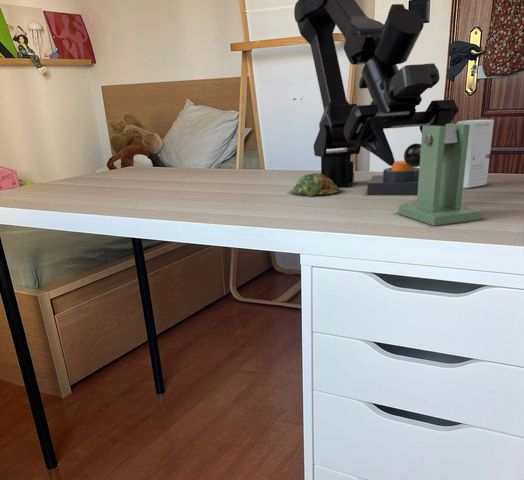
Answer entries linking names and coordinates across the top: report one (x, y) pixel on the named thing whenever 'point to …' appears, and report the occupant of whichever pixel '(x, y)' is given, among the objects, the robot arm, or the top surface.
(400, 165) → the button
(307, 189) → the green mottled dome
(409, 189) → the button box
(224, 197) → the top surface
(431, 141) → the bracket
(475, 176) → the cosmetic box
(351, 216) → the top surface
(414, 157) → the lever
